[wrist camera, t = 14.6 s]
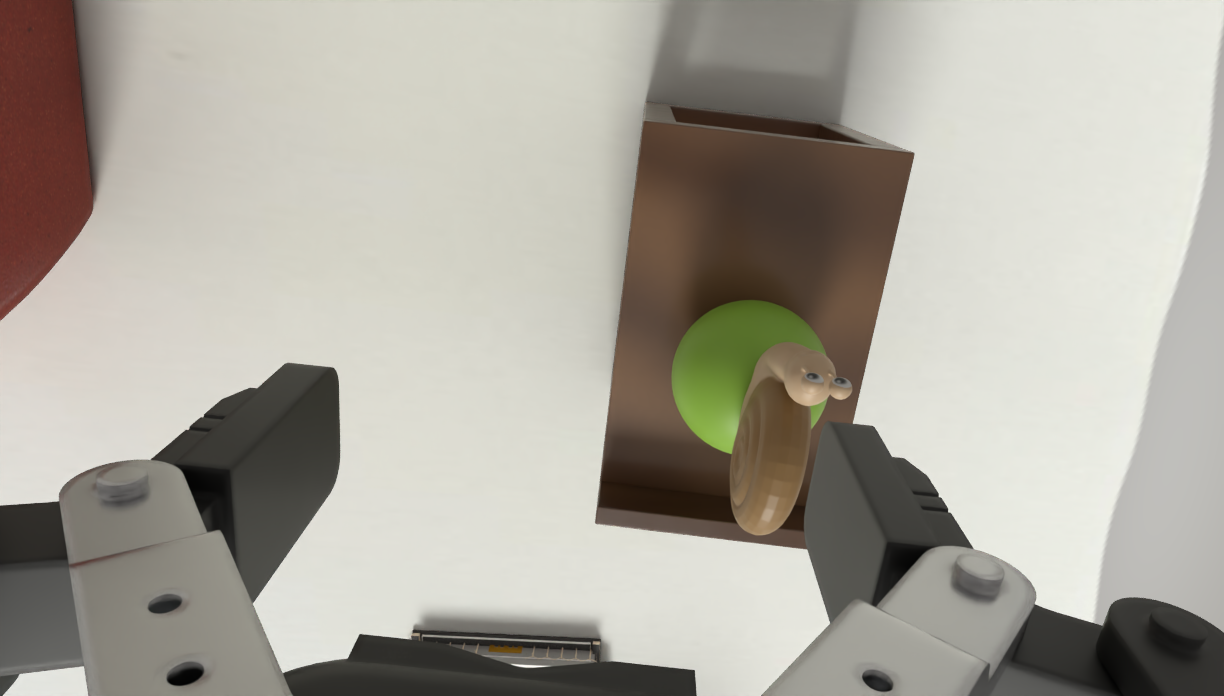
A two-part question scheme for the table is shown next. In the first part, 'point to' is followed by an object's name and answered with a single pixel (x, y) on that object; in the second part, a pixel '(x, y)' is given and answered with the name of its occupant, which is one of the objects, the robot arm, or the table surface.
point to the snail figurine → (756, 401)
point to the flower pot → (39, 144)
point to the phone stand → (520, 648)
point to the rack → (738, 290)
